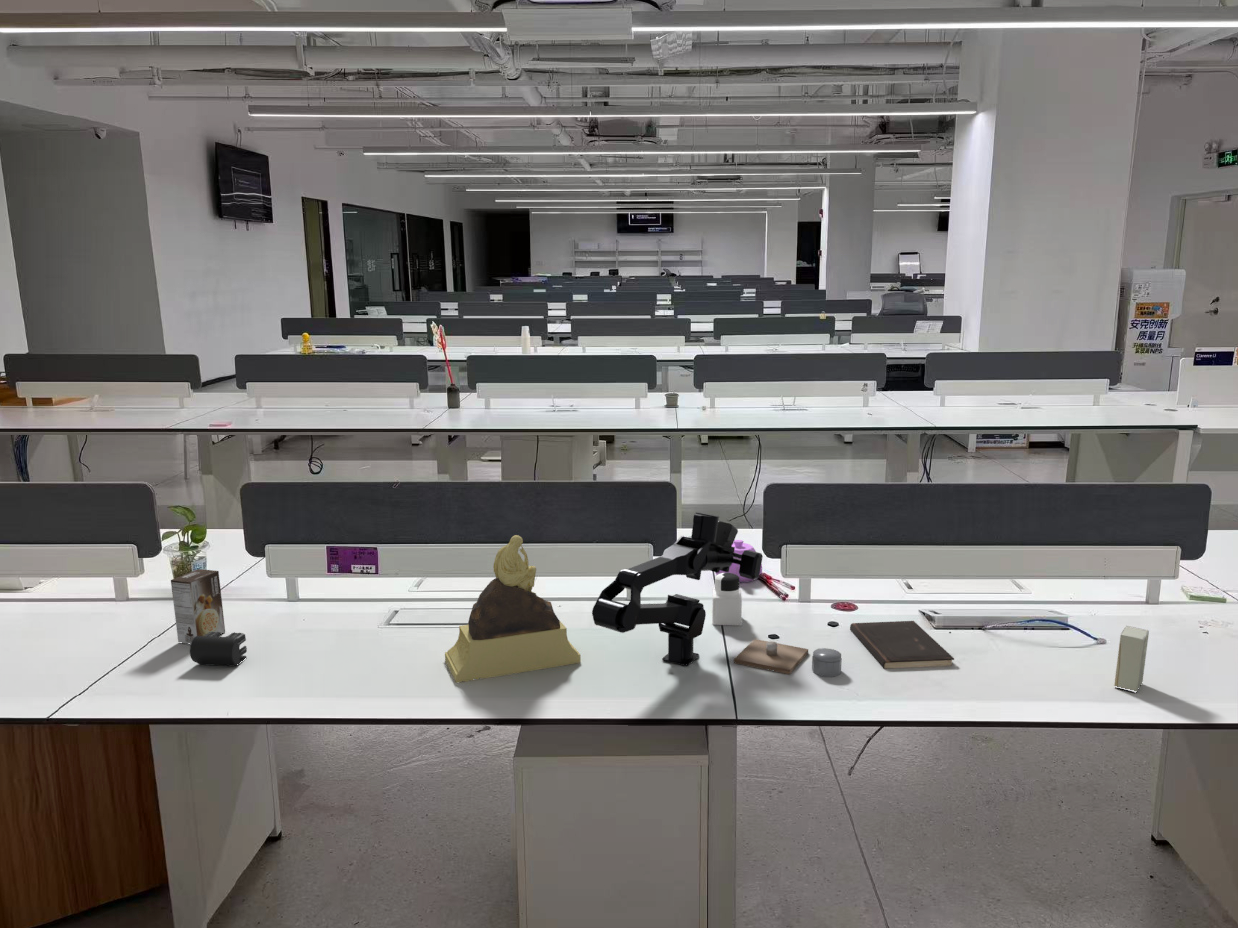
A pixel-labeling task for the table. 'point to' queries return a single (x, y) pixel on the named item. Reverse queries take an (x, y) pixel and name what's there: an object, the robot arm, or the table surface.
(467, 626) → the seated figure statue
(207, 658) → the end cap
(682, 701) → the table surface
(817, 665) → the grey short cylinder
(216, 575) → the coffee box
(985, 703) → the table surface
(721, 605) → the medicine bottle
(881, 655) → the hardcover book
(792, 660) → the stud plate
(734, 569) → the teapot
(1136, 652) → the skincare box
